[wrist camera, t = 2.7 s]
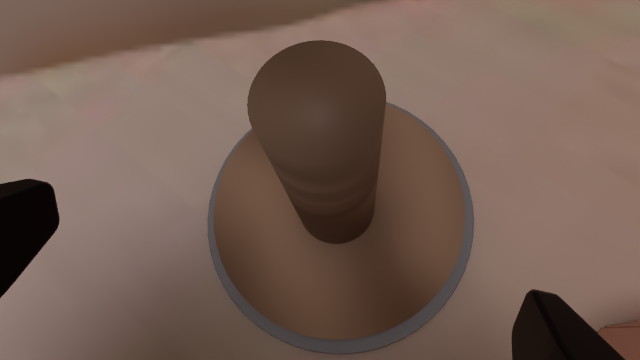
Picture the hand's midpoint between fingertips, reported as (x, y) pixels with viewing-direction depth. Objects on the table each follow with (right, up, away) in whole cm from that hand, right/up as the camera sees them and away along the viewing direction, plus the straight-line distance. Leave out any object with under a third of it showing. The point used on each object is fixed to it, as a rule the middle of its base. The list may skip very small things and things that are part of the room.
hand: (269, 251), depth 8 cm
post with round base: (+2, 0, +10) cm, 11 cm away
